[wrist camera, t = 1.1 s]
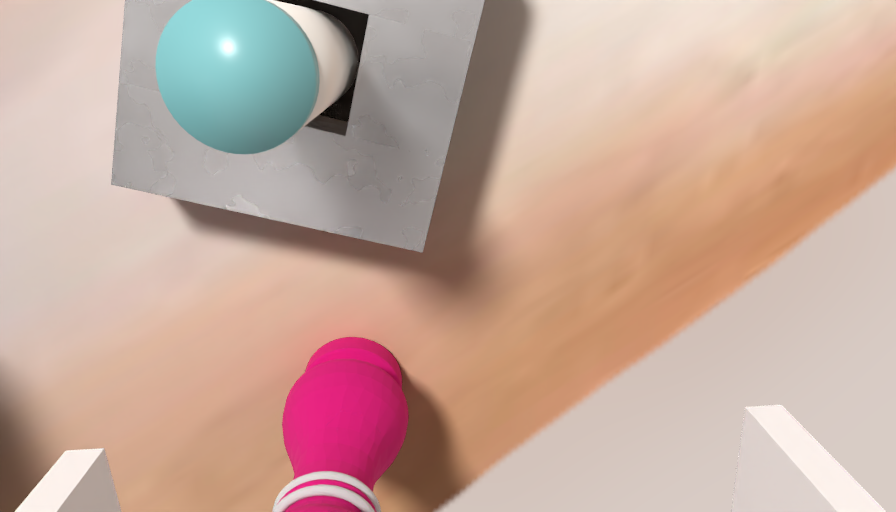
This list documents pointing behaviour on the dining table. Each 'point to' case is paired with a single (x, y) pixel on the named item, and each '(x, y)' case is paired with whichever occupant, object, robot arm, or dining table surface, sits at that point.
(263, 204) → the housing
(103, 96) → the dining table surface
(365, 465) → the pepper mill
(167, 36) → the plug
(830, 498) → the robot arm
